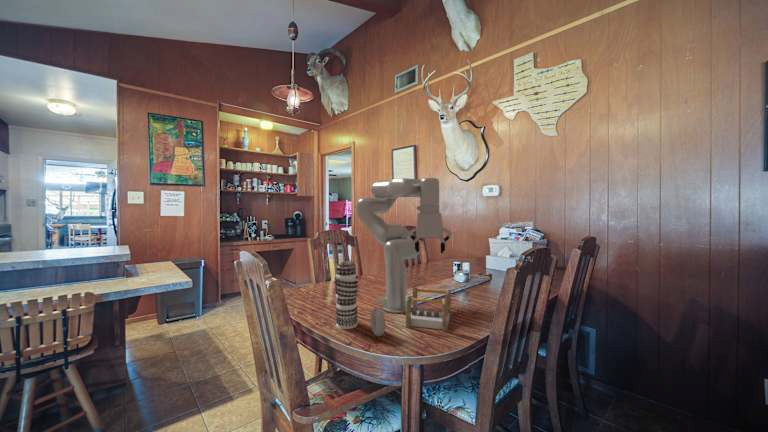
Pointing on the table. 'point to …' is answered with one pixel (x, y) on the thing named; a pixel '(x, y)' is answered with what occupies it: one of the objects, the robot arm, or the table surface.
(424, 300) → the cord front
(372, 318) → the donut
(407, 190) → the robot arm
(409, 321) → the cord posts
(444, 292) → the cord rear
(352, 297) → the decorative candle
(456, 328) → the table surface
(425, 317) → the breaker panel
